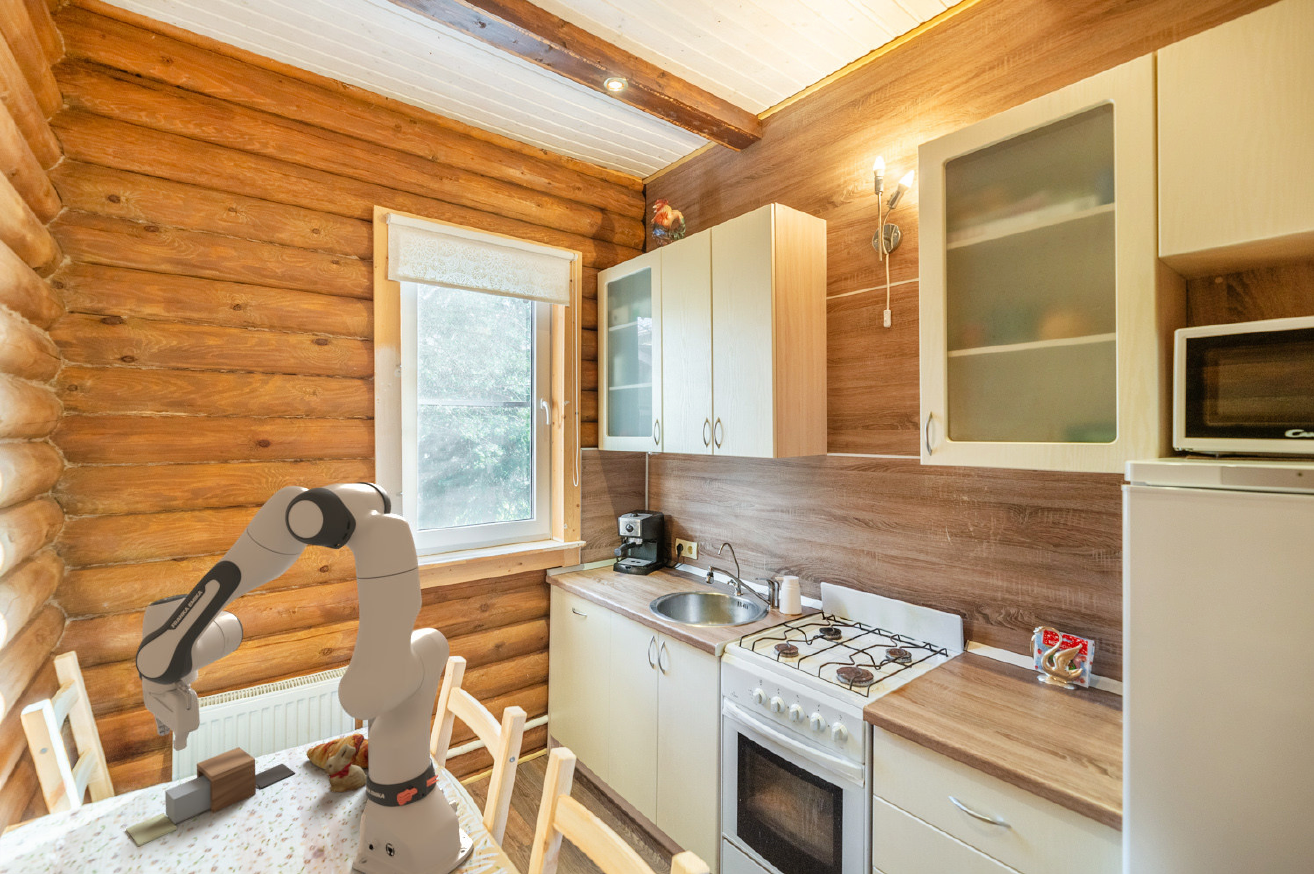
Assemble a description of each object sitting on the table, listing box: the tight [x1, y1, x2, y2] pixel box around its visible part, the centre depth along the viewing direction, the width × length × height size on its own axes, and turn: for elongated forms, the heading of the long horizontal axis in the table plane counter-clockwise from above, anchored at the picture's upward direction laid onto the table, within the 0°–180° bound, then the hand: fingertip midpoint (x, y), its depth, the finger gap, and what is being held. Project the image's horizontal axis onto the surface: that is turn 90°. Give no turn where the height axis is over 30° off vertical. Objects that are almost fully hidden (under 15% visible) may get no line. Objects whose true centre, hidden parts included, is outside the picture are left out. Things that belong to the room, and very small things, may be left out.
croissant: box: [306, 733, 368, 770], centre depth 144 cm, size 21×10×8 cm, turn 84°
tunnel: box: [126, 746, 296, 847], centre depth 129 cm, size 8×28×8 cm, turn 145°
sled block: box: [164, 775, 211, 825], centre depth 126 cm, size 5×9×5 cm, turn 145°
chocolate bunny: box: [324, 744, 367, 793], centre depth 134 cm, size 6×8×10 cm
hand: (171, 741), depth 123 cm, fingers open, 8 cm apart
